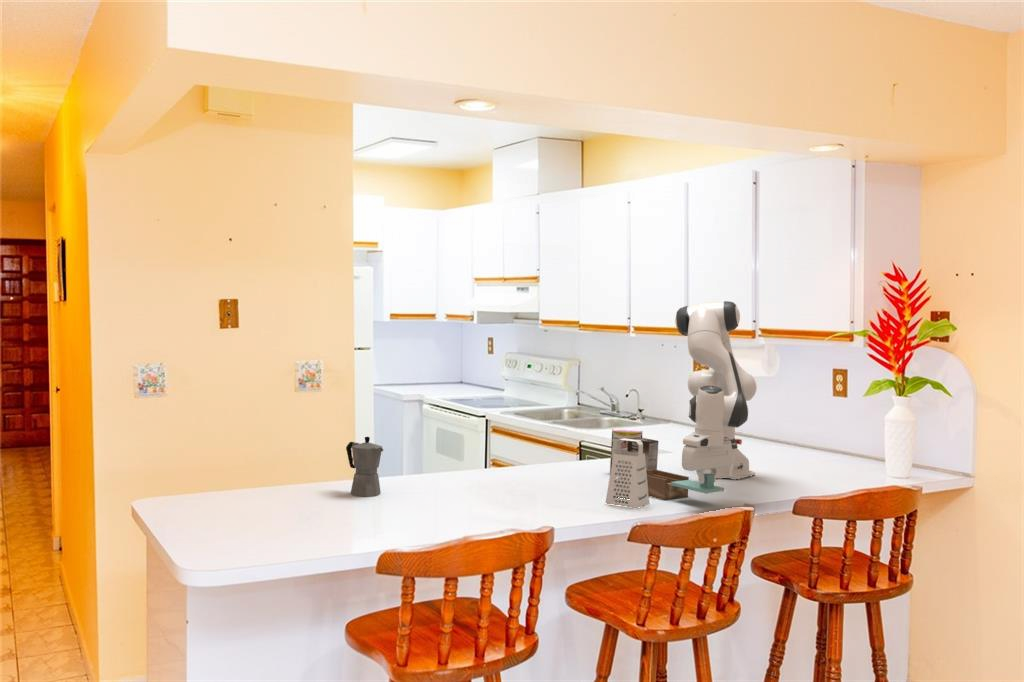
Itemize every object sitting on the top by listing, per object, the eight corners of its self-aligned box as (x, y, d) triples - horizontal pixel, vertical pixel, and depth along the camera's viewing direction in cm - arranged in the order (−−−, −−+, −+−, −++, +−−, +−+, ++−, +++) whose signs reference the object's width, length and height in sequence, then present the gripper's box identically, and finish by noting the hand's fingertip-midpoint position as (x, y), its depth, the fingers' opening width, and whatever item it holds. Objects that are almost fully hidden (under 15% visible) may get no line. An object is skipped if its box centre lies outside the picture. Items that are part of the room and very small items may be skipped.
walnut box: (652, 487, 309) (653, 468, 309) (687, 496, 296) (688, 477, 296) (629, 490, 302) (629, 471, 302) (664, 500, 290) (665, 479, 289)
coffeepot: (391, 494, 283) (393, 437, 283) (370, 499, 276) (371, 440, 275) (356, 487, 292) (358, 432, 292) (334, 492, 285) (336, 435, 284)
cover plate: (688, 482, 294) (689, 467, 294) (723, 490, 283) (724, 475, 283) (670, 485, 289) (671, 469, 289) (705, 493, 278) (706, 477, 277)
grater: (636, 509, 275) (639, 443, 275) (605, 504, 280) (607, 440, 280) (649, 503, 284) (651, 439, 284) (618, 498, 290) (620, 436, 289)
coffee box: (624, 484, 313) (626, 438, 313) (635, 482, 318) (637, 436, 318) (646, 488, 307) (648, 441, 307) (657, 486, 312) (659, 440, 311)
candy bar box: (609, 475, 330) (611, 430, 329) (609, 472, 335) (611, 428, 334) (640, 477, 329) (642, 432, 328) (640, 474, 334) (642, 430, 333)
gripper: (723, 435, 291) (721, 478, 291) (679, 439, 279) (677, 483, 279) (738, 438, 286) (736, 481, 286) (694, 442, 274) (692, 487, 274)
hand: (707, 482), depth 283 cm, fingers closed on cover plate, 3 cm apart
